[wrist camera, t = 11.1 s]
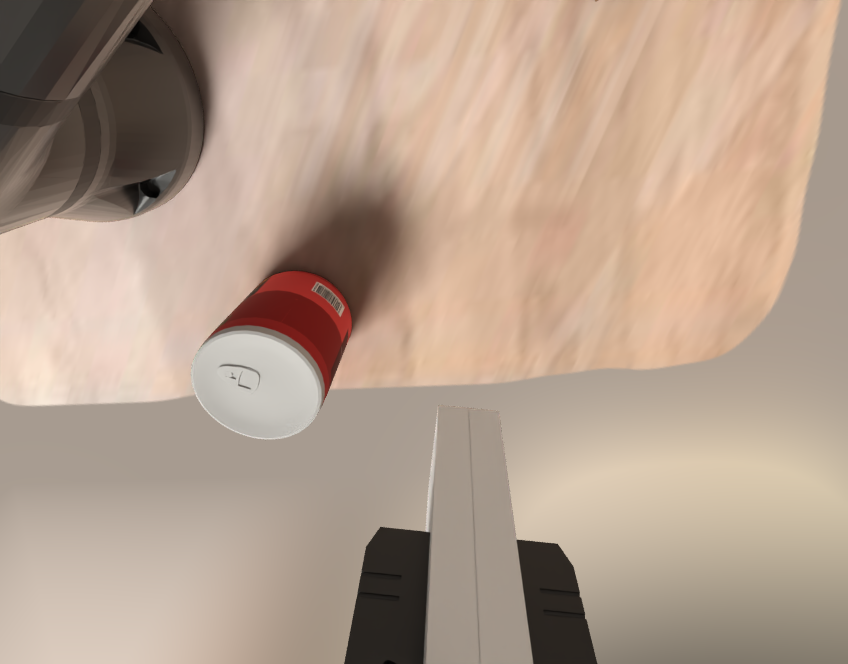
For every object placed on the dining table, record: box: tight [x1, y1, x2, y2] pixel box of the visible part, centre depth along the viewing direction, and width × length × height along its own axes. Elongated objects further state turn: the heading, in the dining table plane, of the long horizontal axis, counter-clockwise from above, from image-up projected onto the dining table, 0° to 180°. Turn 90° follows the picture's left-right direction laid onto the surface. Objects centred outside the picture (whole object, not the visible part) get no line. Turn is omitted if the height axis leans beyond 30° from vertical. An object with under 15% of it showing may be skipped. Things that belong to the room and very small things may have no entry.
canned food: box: [191, 271, 352, 439], centre depth 36 cm, size 8×8×11 cm
